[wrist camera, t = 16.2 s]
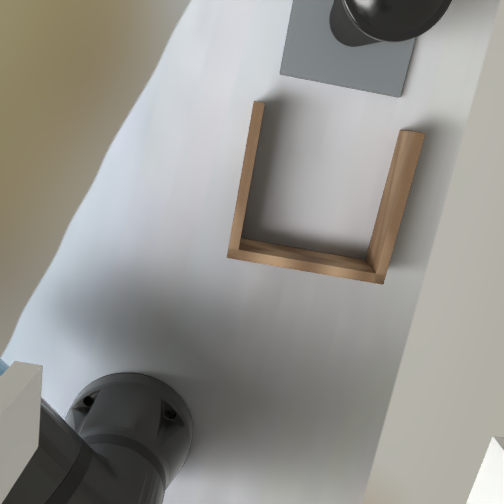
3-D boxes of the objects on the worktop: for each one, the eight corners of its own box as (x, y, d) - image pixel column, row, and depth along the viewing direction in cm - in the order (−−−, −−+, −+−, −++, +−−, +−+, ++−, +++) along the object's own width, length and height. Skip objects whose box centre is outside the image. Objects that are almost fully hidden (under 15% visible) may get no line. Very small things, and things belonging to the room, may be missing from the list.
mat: (279, 74, 45) (279, 73, 44) (305, -66, 41) (306, -69, 41) (398, 97, 45) (400, 97, 45) (433, -39, 42) (435, -41, 41)
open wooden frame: (229, 245, 50) (226, 257, 45) (253, 102, 45) (253, 100, 41) (372, 270, 51) (383, 284, 46) (409, 131, 46) (425, 133, 42)
